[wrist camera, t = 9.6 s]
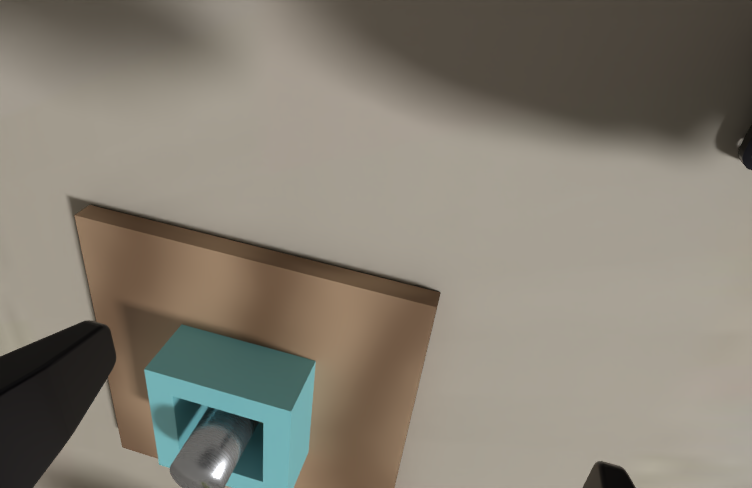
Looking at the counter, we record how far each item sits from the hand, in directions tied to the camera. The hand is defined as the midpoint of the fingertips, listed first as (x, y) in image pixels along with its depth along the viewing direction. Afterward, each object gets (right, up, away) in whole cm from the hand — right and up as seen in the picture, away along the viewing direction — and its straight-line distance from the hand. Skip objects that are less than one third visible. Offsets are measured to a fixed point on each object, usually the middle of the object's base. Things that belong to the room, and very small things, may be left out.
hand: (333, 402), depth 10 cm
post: (-5, -4, +18) cm, 19 cm away
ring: (-6, -4, +17) cm, 19 cm away
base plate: (-5, -4, +18) cm, 19 cm away
